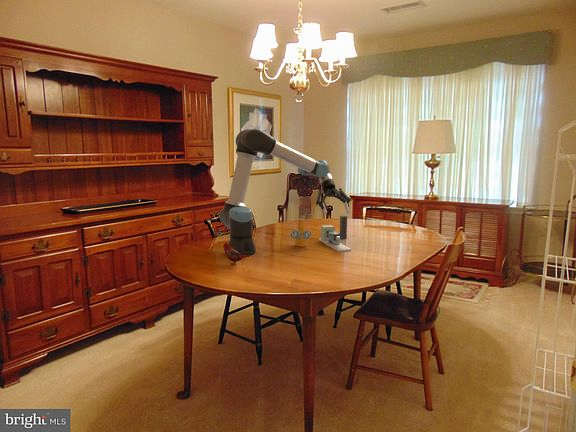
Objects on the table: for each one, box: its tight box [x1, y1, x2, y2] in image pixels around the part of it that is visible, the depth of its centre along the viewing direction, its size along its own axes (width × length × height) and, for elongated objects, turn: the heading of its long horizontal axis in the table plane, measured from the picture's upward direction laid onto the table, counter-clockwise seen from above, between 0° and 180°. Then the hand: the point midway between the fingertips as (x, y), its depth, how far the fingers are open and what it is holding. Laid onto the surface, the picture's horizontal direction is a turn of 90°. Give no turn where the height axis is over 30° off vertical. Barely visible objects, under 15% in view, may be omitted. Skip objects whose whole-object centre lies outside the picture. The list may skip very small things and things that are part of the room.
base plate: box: [318, 238, 352, 253], centre depth 236 cm, size 28×8×1 cm, turn 17°
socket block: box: [320, 224, 336, 241], centre depth 245 cm, size 5×6×8 cm
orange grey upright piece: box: [290, 218, 312, 248], centre depth 234 cm, size 12×10×15 cm
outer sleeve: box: [328, 231, 341, 245], centre depth 236 cm, size 7×4×6 cm, turn 17°
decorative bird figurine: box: [222, 242, 250, 266], centre depth 196 cm, size 3×18×10 cm, turn 51°
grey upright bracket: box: [334, 215, 348, 245], centre depth 230 cm, size 17×3×15 cm, turn 17°
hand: (337, 213), depth 231 cm, fingers open, 13 cm apart
